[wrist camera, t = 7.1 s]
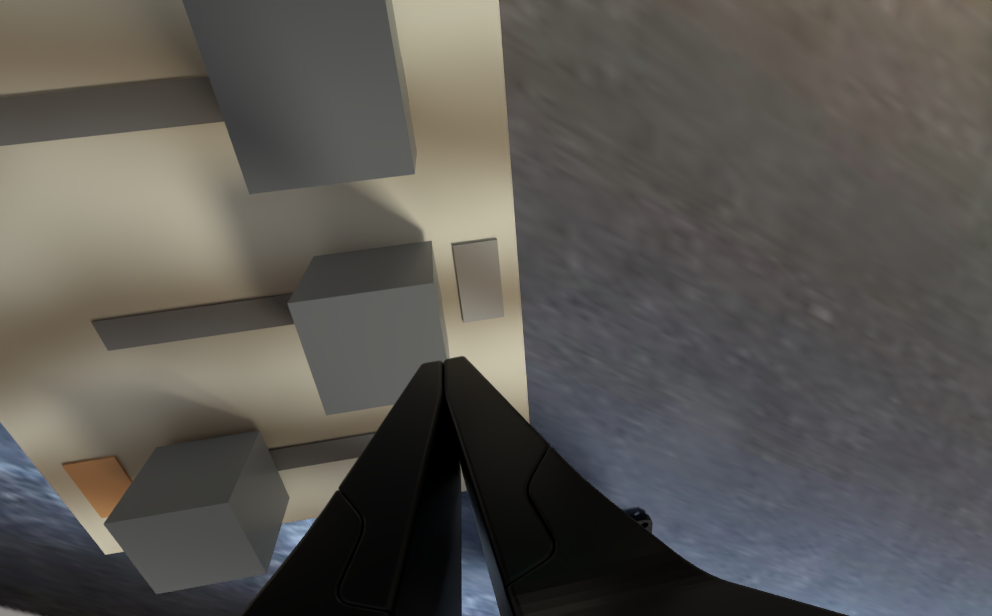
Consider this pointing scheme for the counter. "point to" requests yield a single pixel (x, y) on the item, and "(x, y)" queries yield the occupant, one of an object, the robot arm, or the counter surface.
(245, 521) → the grey boxy piece
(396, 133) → the tab near
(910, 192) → the counter surface
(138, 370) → the switch panel
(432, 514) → the robot arm
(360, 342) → the tab middle
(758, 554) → the counter surface
